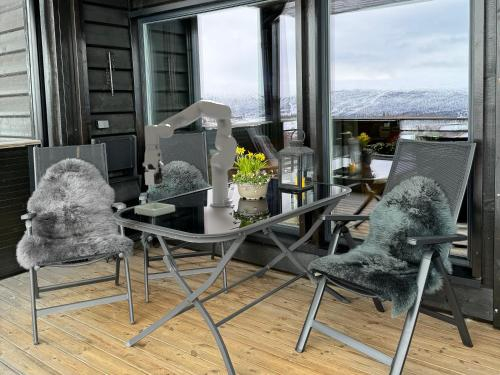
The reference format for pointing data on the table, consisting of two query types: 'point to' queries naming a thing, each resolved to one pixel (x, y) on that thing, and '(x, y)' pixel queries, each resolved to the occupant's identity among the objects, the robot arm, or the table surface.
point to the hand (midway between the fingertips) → (153, 178)
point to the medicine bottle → (152, 176)
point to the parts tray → (155, 209)
